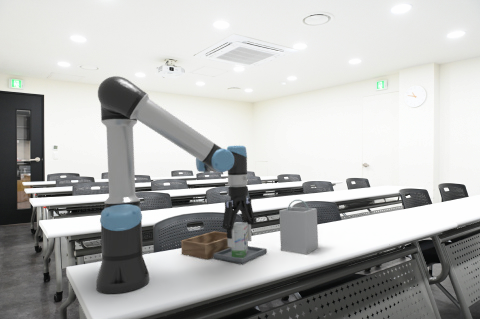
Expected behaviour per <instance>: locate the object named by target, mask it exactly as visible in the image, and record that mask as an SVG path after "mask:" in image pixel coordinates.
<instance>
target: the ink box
mask: <svg viewBox="0 0 480 319" xmlns="http://www.w3.org/2000/svg"><path fill="white" fill-rule="evenodd" d="M233 229H234V239H235V247H234V248H233V247H232V257H240V258H244V257H245V255H246V253H247V252H248V246H249V241H248V223H247V222H245V221H244V222H243V221H242V222H241V221H235V222H234V225H233Z"/></svg>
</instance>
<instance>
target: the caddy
mask: <svg viewBox="0 0 480 319" xmlns="http://www.w3.org/2000/svg"><path fill="white" fill-rule="evenodd" d="M278 211H279V232H280V233H279V234H280V236H279V237H280V251H281V252H282V251H283V252H289V253H295V254H303V255H308V254H310V253H311V252H313V251H315V250H317V249H319V238H318V237H319V232H318V230H319V229H318V209H317V208H312V207H308V210H307V207H296V206H295V207H294V206H292V207H291V206H290V208H289V211H288V207H287V208H284V209H280V210H278Z"/></svg>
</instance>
